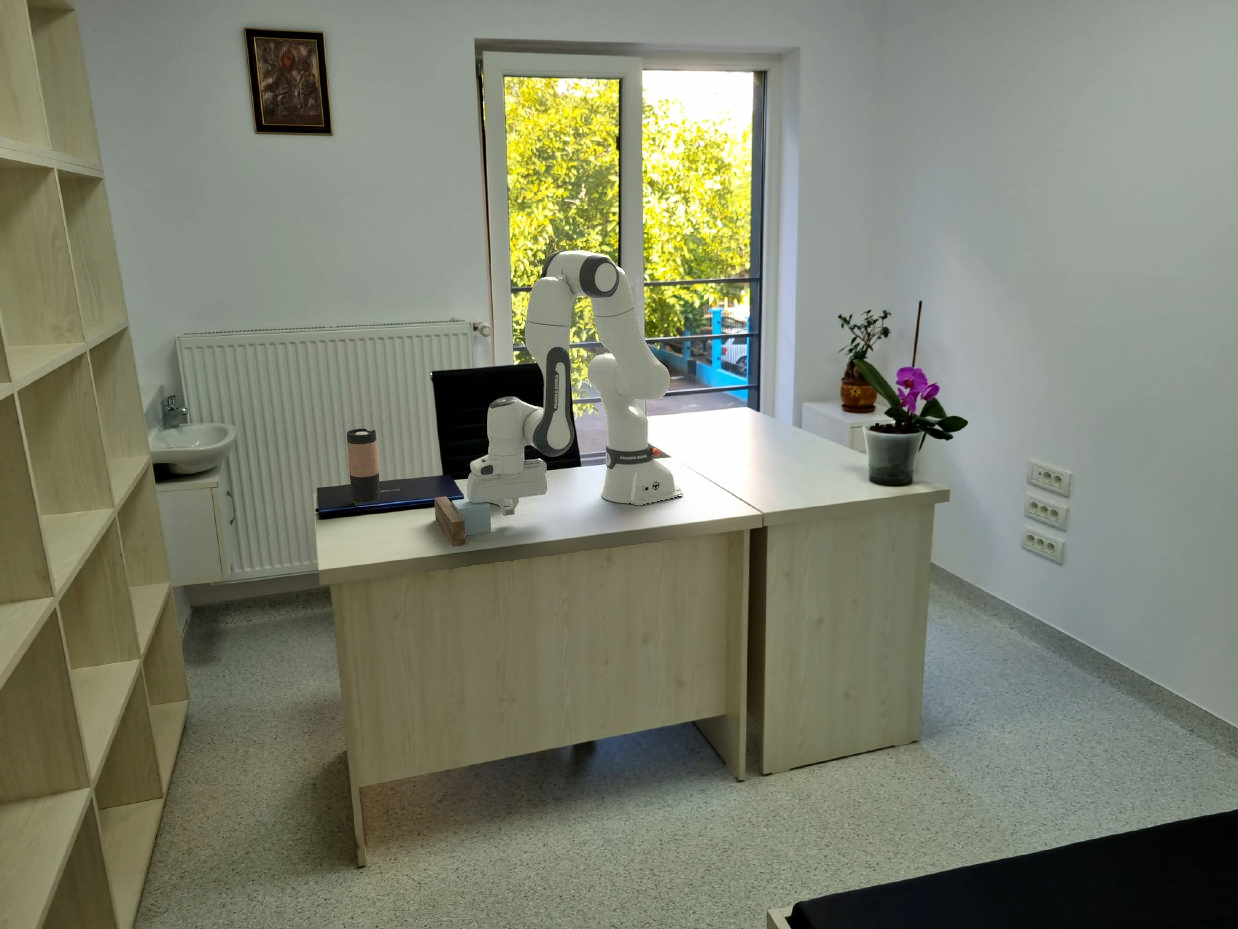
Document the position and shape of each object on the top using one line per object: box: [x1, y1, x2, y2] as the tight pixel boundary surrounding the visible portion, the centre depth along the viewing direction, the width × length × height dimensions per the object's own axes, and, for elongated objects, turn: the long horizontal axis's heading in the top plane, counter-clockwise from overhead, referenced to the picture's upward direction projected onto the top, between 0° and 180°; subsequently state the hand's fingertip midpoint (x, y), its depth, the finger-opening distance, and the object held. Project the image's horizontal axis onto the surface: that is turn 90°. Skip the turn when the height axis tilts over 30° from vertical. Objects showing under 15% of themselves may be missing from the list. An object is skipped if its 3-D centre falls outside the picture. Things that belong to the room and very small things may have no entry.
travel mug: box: [346, 428, 381, 502], centre depth 251 cm, size 8×8×20 cm
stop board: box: [433, 496, 467, 547], centre depth 232 cm, size 3×20×6 cm, turn 23°
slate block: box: [451, 498, 492, 536], centre depth 234 cm, size 8×7×7 cm
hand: (508, 514), depth 238 cm, fingers closed
